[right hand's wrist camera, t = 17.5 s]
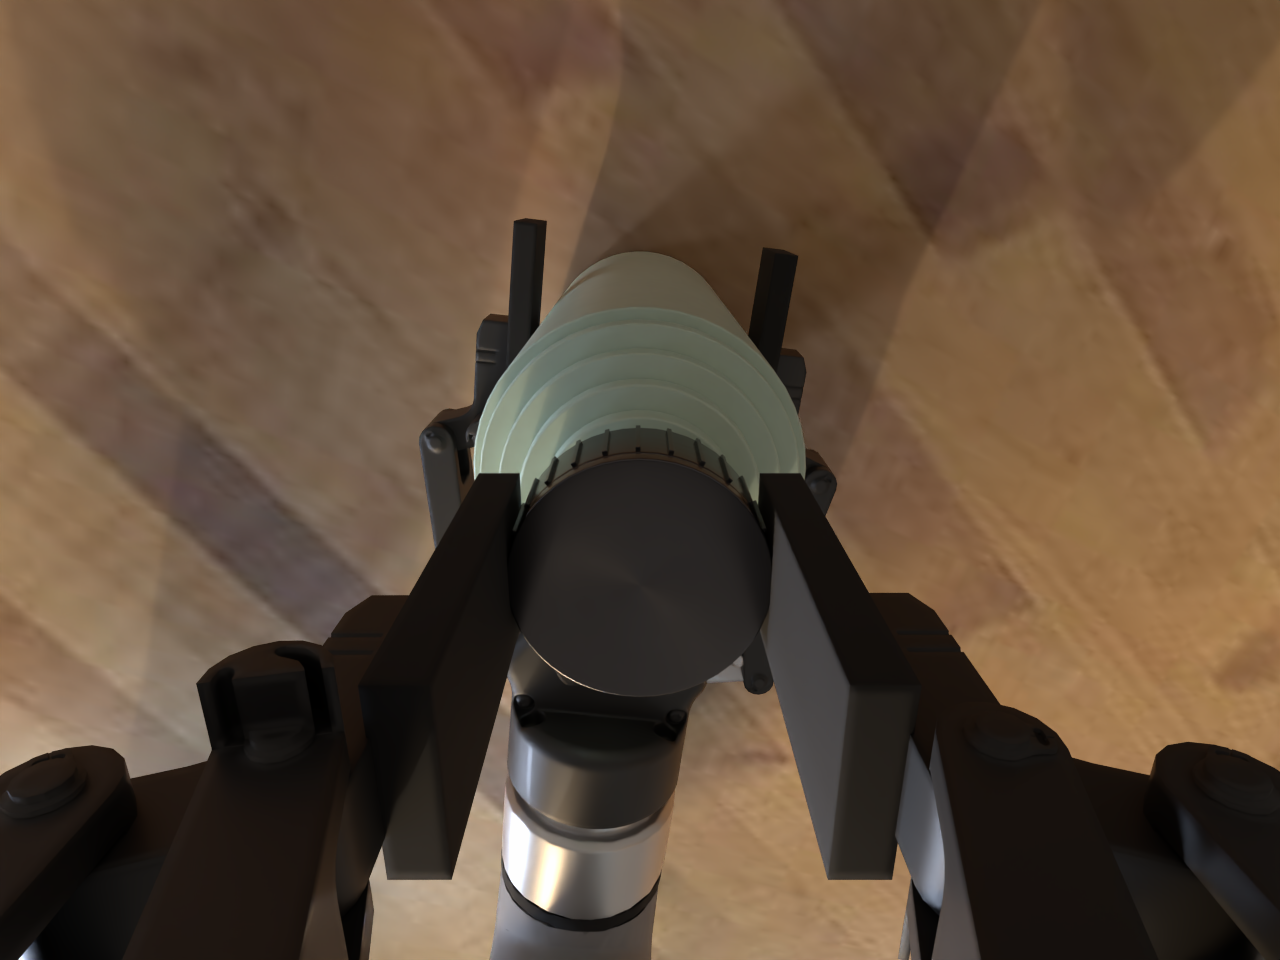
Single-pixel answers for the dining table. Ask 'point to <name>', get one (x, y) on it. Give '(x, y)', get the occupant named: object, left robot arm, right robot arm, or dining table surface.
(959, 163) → the dining table surface
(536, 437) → the bottle
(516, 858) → the left robot arm
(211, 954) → the right robot arm
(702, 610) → the cap
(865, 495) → the dining table surface
